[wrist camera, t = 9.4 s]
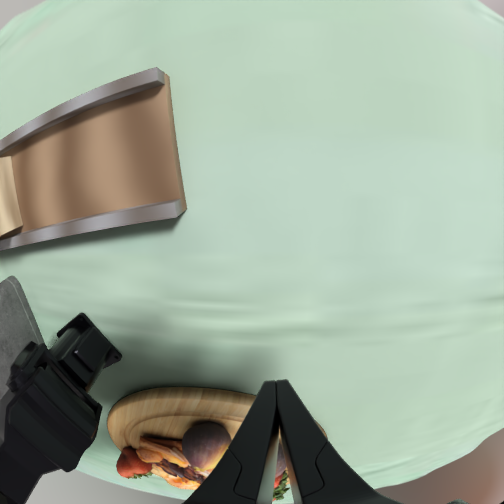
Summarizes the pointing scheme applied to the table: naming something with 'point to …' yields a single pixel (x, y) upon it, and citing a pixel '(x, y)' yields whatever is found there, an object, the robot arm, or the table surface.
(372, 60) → the table surface
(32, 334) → the flask
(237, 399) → the wooden plate with food
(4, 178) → the cream square block
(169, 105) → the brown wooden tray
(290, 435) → the robot arm
